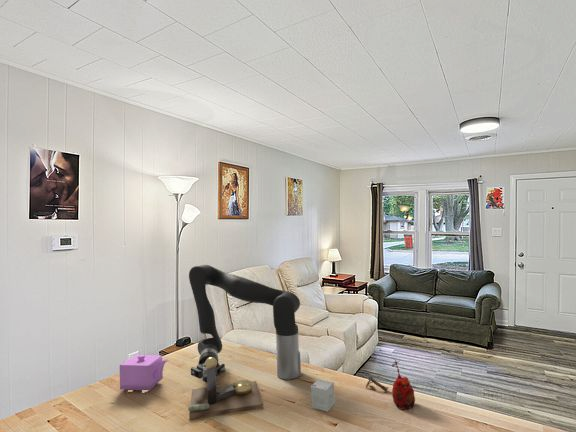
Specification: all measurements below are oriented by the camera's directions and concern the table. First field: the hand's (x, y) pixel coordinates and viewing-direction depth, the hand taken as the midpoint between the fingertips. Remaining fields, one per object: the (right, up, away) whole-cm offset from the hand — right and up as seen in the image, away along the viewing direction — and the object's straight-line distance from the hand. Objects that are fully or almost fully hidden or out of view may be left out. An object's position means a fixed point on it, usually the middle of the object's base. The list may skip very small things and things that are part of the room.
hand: (207, 379), depth 120 cm
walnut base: (+6, -9, +3) cm, 11 cm away
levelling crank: (+7, -7, +3) cm, 11 cm away
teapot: (-27, -11, +15) cm, 33 cm away
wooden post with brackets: (+61, -8, +7) cm, 62 cm away
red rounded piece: (+67, -7, -4) cm, 67 cm away
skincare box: (+40, -8, -3) cm, 41 cm away
